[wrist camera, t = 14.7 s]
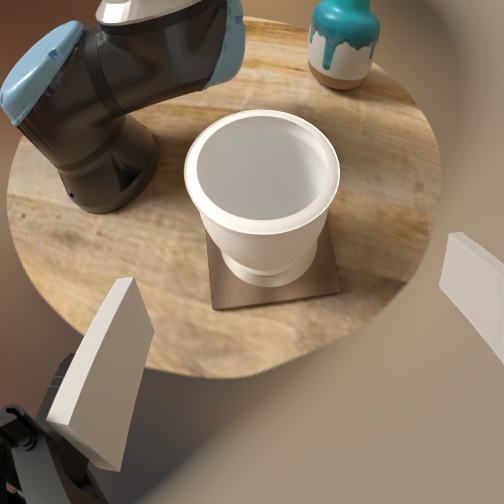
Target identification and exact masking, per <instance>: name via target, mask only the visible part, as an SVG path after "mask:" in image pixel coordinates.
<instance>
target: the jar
mask: <svg viewBox="0 0 504 504" xmlns="http://www.w3.org/2000/svg"><path fill="white" fill-rule="evenodd" d="M184 179H185V184H186V188H187V191H188V193H189V195H190V197H191V199H192V201H193V203H194V204H195V206H196V207H197V209H198V210H199V211H200V215H201V218H202V221H203V223H204V226H205V228H206V230H207V232H208V234H209V235H210V237H211V238H212V240H213V241H214V242H215V244H216V245H217V246H218V247H219V248H220V249H221V250H222V251H223V252H224V253H225V254H226V255H228V256H229V257H230V258H232V259H233V260H234V262H235V263H236V264H237V265H238V266H239V267H241V268H242V269H244V270H245V271H247V272H249V273H252V274H255V275H261V276H271V275H276V274H279V273H282V272H284V271H286V270H287V269H289V268H290V267H291V266H292V265H293V264H294V263H295V262H296V261H297V260H298V258H300V257H301V256H302V255H303V254H304V253H305V252H306V251H307V250H308V249H309V248H310V247H311V246H312V245H313V244H314V242H315V241H316V239H317V238H318V236H319V234H320V233H321V231H322V228H323V226H324V224H325V221H326V217H327V213H328V209H329V207H330V206H331V204H332V202H333V200H334V198H335V196H336V193H337V190H338V186H339V179H340V168H339V162H338V158H337V155H336V153H335V150H334V148H333V147H332V145H331V143H330V142H329V140H328V139H327V138H326V137H325V136H324V134H323V133H322V132H320V131H319V130H318V129H317V128H316V127H314V126H313V125H312V124H310V123H309V122H307V121H305V120H303V119H301V118H299V117H297V116H294V115H292V114H288V113H285V112H280V111H275V110H248V111H243V112H238V113H235V114H232V115H229V116H226V117H224V118H222V119H220V120H218V121H216V122H215V123H213V124H212V125H210V126H209V127H207V128H206V129H205V130H204V131H203V132H202V133H201V134H200V135H199V136H198V137H197V138H196V140H195V141H194V142H193V144H192V146H191V147H190V149H189V151H188V154H187V157H186V160H185V166H184Z"/></svg>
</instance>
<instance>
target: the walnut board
mask: <svg viewBox="0 0 504 504" xmlns="http://www.w3.org/2000/svg"><path fill="white" fill-rule="evenodd" d="M206 241H207V254H208V266H209V277H210V288H211V299H212V309H213V310H222V309H230V308H239V307H247V306H254V305H262V304H269V303H277V302H284V301H290V300H297V299H304V298H310V297H317V296H323V295H329V294H335V293H339V292H340V291H341V287H340V282H339V277H338V272H337V267H336V262H335V257H334V252H333V247H332V243H331V238H330V234H329V229H328V225H327V221H325V224H324V226H323V228H322V231H321V233H320V234H319V236H318V238H317V239H316V241H315V242H314V244H313V245H312V246H311V247H310V248H309V249H308V250H307V251H306V252H305V253H304V254H303V255H302V256H301V257H300V258H298V260H297V261H296V262H295V263H294V264H293V265H292V266H291V267H290V268H289V269H287V270H286V271H284V272H282V273H279V274H276V275H271V276H261V275H255V274H252V273H249V272H247V271H245V270H244V269H242V268H241V267H239V266H238V265H237V264H236V263H235V262H234V260H233V259H232V258H230V257H229V256H228V255H226V254H225V253H224V252H223V251H222V250H221V249H220V248H219V247H218V246H217V245H216V244H215V242H214V241H213V240H212V238H211V237H210V235H209V234H208V232H207V230H206Z"/></svg>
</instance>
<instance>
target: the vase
mask: <svg viewBox="0 0 504 504" xmlns="http://www.w3.org/2000/svg"><path fill="white" fill-rule="evenodd" d="M379 34H380V23H379V19H378V18H377V16H376V15H375V14H374V13H373V12H372V11H371V10H370V0H325V1H322V2H320V3H319V4H317V6H316V7H315V9H314V11H313V14H312V18H311V23H310V30H309V40H308V64H309V68H310V70H311V73H312V74H313V76H314V77H315V78H316V79H317V80H318V81H319V82H321V83H322V84H324V85H326V86H328V87H331V88H335V89H342V90H346V89H352V88H354V87H357V86H358V85H360V84H361V83H362V82H363V81H364V80H365V78H366V76H367V74H368V72H369V70H370V68H371V65H372V62H373V59H374V56H375V52H376V49H377V44H378V40H379Z"/></svg>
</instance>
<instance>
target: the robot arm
mask: <svg viewBox="0 0 504 504" xmlns="http://www.w3.org/2000/svg"><path fill="white" fill-rule="evenodd" d="M96 18H97V20H98V23H99V24H97V25H94V26H92V27H90V28H88V29H84V26H83V24H80V23H79V22H78V21H70V22H69V23H65V24H63V25H61V26H59V27H57V28H56V29H54V30H53V31H51V32H50V33H48V34H47V35H46V36H44V37H43V38H42V39H41V40H40V41H38V42H37V43H36V44H35V45H34V46H33V47H32V48H31V49H30V50H29V51H28V52H27V53H26V54H25V55H24V56H23V57H22V58H21V59H20V60H19V62H18V63H17V64H16V65H15V66H14V68H13V69H12V70H11V72H10V73H9V75H8V76H7V78H6V80H5V81H4V83H3V86H2V88H1V91H0V105H1V107H2V109H3V110H4V111H5V113H6V114H7V115H8V117H9V118H10V120H11V121H12V124H13V125H14V126H16V127H17V128H18V129H19V130H20V131H21V132H22V133H23V134H24V135H25V137H26V138H27V139H28V140H29V141H30V142H31V143H32V144H33V145H34V146H35V147H36V148H37V149H38V150H39V151H40V152H41V153H42V154H43V155H44V156H45V157H46V158H47V159H48V160H49V161H50V162H51V163H52V164H53V165H54V166H55V167H56V168H57V170H58V172H59V175H60V177H61V180H62V182H63V184H64V187H65V189H66V192H67V194H68V196H69V197H70V198H71V200H72V201H73V202H74V203H75V204H77V205H78V206H79V207H80V208H81V209H83V210H84V211H87V212H90V213H96V214H100V213H107V212H111V211H114V210H116V209H119V208H121V207H122V206H124V205H126V204H127V203H129V202H130V201H132V200H133V199H134V198H135V197H136V196H138V195H139V194H140V193H141V192H142V190H143V189H144V188H145V187H146V186H147V184H148V183H149V181H150V180H151V178H152V176H153V174H154V172H155V169H156V166H157V162H158V148H157V145H156V142H155V140H154V138H153V136H152V135H151V133H150V131H149V130H148V129H147V128H146V127H145V126H143V125H142V124H140V123H139V122H138V121H137V120H136V119H134V118H133V117H132V116H130V115H129V114H128V113H131V112H133V111H136V110H139V109H142V108H144V107H147V106H150V105H153V104H156V103H159V102H162V101H165V100H169V99H172V98H175V97H179V96H182V95H185V94H189V93H193V92H196V91H203V90H206V89H207V88H209V87H211V86H214V85H217V84H221V83H224V82H227V81H229V80H231V79H232V78H234V77H235V76H236V75H237V73H238V72H239V70H240V68H241V66H242V63H243V59H244V52H245V25H244V23H243V21H242V20H243V10H242V5H241V2H240V0H103V1H102V2H101V4H100V6H99V8H98V9H97V12H96ZM439 288H440V289H441V290H442V291H443V292H444V293H445V294H446V295H447V296H448V297H449V298H450V300H451V301H452V302H453V303H454V304H455V305H456V306H457V307H458V309H459V310H460V311H461V312H462V313H463V314H464V315H465V316H466V318H467V319H468V320H469V321H470V322H471V324H472V325H473V326H474V327H475V328H476V330H477V331H478V332H479V333H480V335H481V336H482V337H483V338H484V340H485V341H486V342H487V343H488V345H489V346H490V347H491V348H492V350H493V351H494V352H495V353H496V355H497V356H498V357H499V359H500V360H501V362H502V363H503V364H504V264H503V263H502V262H501V261H499V260H498V259H497V258H495V257H494V256H493V255H492V254H490V253H489V252H488V251H487V250H485V249H484V248H483V247H481V246H480V245H478V244H477V243H476V242H475V241H473V240H472V239H470V238H469V237H467V236H466V235H465V234H463V233H462V232H454V233H449V236H448V243H447V248H446V254H445V259H444V265H443V269H442V274H441V278H440V283H439ZM153 334H154V328H153V326H152V323H151V321H150V318H149V316H148V313H147V311H146V308H145V305H144V303H143V300H142V298H141V295H140V292H139V289H138V287H137V284H136V281H135V278H134V277H127V278H119V279H117V280H116V281H115V283H114V285H113V286H112V288H111V290H110V291H109V293H108V295H107V297H106V298H105V300H104V302H103V304H102V305H101V307H100V309H99V311H98V312H97V314H96V316H95V318H94V320H93V322H92V323H91V325H90V327H89V329H88V331H87V333H86V335H85V337H84V339H83V340H82V343H81V344H80V347H79V348H78V350H77V353H70V354H69V355H68V356H67V357H66V358H65V359H64V360H63V362H62V363H61V364H60V366H59V368H58V370H57V372H56V374H55V377H54V378H53V380H52V382H51V384H50V385H51V387H49V388H48V391H47V393H46V395H45V397H44V399H43V402H42V404H41V406H40V408H39V411H38V413H37V415H36V418H35V420H33V419H32V418H31V417H30V416H29V415H28V414H27V413H26V411H25V410H24V409H23V408H22V407H20V406H19V405H17V404H10V405H7V406H5V407H3V408H2V409H1V410H0V504H109V503H108V501H107V499H106V498H105V496H104V494H103V493H102V491H101V489H100V487H99V486H98V484H97V482H96V480H95V478H94V476H93V474H92V473H91V472H90V470H89V469H88V468H87V466H88V462H89V461H91V462H92V463H93V464H94V465H96V466H97V467H98V468H101V469H107V470H112V471H119V472H120V468H121V462H122V458H123V453H124V448H125V444H126V438H127V434H128V430H129V425H130V421H131V417H132V412H133V409H134V404H135V400H136V396H137V392H138V388H139V385H140V381H141V377H142V373H143V370H144V366H145V362H146V359H147V355H148V352H149V348H150V345H151V341H152V338H153ZM6 482H7V483H8V484H10V485H11V486H12V487H13V490H12V493H10V492H9V491H7V489H6Z"/></svg>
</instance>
